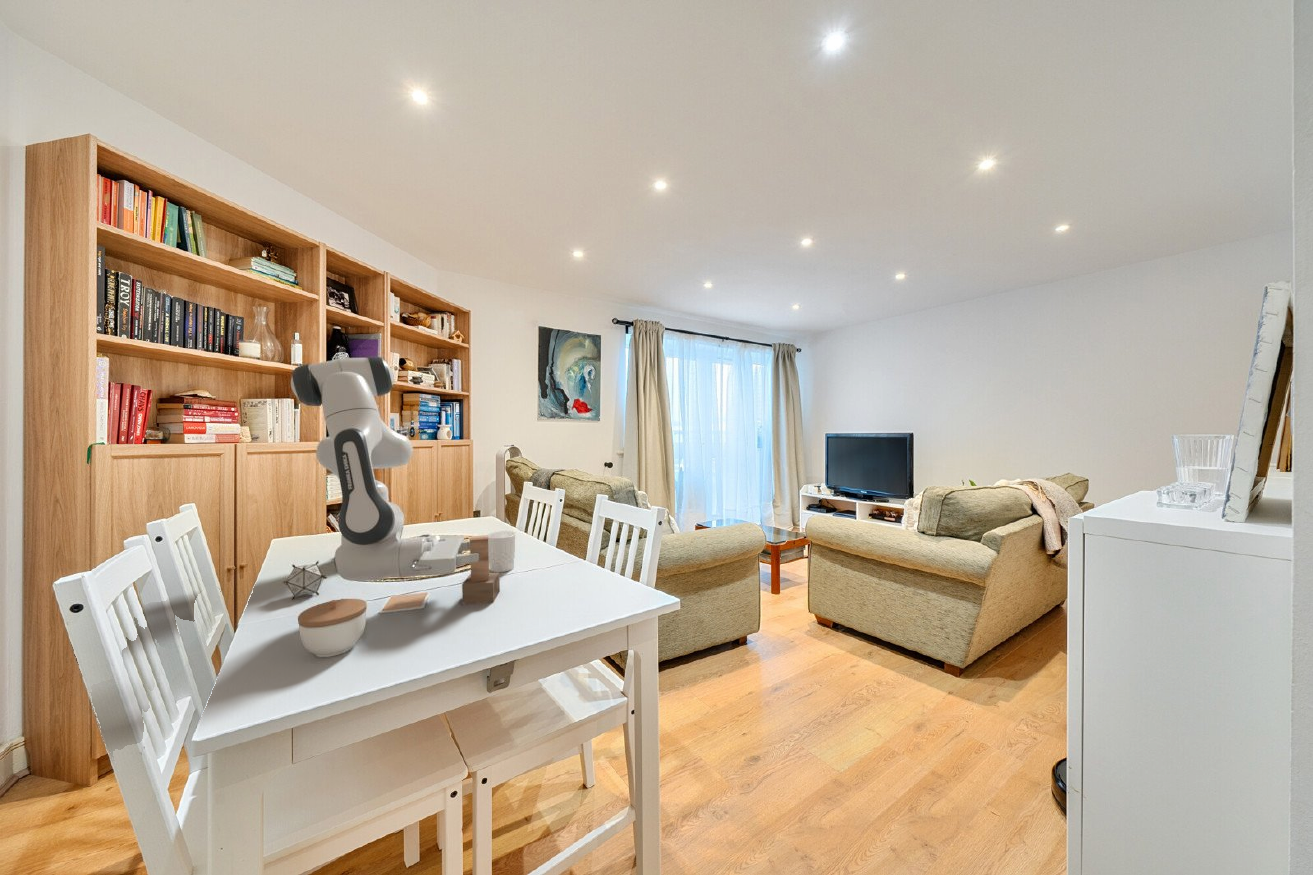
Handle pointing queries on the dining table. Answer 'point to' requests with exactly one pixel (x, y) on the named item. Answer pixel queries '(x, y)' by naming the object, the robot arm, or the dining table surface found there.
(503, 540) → the white cup
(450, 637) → the dining table surface
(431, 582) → the dining table surface
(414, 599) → the swatch tile
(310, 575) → the grey icosahedron model
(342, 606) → the lidded jar
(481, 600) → the walnut block
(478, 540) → the cherry post
